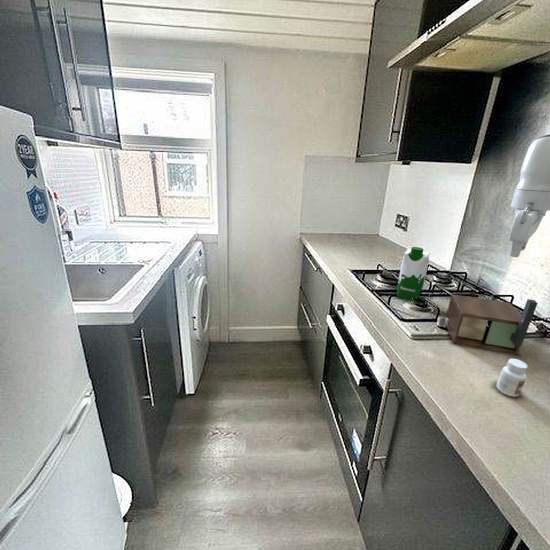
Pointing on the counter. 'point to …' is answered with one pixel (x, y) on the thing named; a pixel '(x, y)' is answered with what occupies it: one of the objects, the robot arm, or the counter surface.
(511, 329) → the sliding door
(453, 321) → the cupboard
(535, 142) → the robot arm
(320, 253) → the counter surface
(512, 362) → the pill bottle
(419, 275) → the milk carton
